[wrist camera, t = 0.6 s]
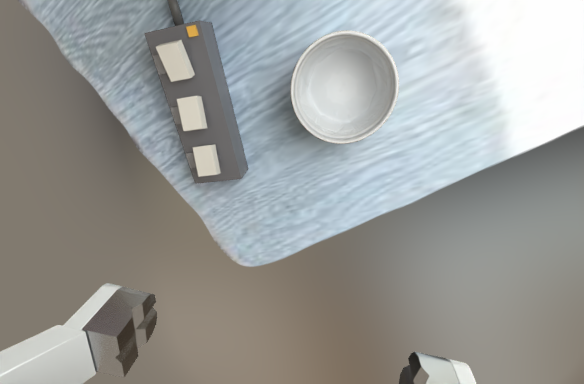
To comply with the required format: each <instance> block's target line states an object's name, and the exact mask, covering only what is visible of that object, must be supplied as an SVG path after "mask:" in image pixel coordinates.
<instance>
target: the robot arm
mask: <svg viewBox="0 0 584 384" xmlns="http://www.w3.org/2000/svg"><path fill="white" fill-rule="evenodd" d="M155 303H156V300H155V295H154V294H150V293H146V292H142V291H138V290H134V289H130V288H126V287H122V286H118V285H114V284H109V283H107V284H105V285H103V286H101V287H100V288H99V289H98V291H96V292H95V293H94V294H93V296H91V297H90V298H89V299H88V301H87V302H86V303H85V304H84V305H83V306H82V307H81V308H80V309H79V310H78V311H77V312H76V313H75V314H74V315H73V316H72V317H71V318H70V319H69V320H68V321H67V322H66V323H65V324H64V325H63V326H61V325H57V326H54V327H52V328H50V329H48V330H46V331H44V332H42V333H39V334H38V335H35V336H33V337H31V338H29V339H27V340H24V341H22V342H20V343H18V344H16V345H14V346H12V347H9V348H8V349H5V350H3V351H1V352H0V384H83V383H84V382H85V381H87V380H88V379H89V378H91V377H92V376H94V375H95V374H96V372H100V373H104V374H109V375H114V376H119V377H125V376H126V374H127V373H128V371H129V370H130V368H131V366H132V365H133V363H134V362H135V360H136V359H137V357H138V348H139V347H141V346H142V345H144V344H145V343H147V342H148V340H149V338H150V337H151V335H152V333H153V331H154V328H155V325H156V321H157V312H156V311H155V309H154V308H153V306H154V304H155ZM408 359H409V364H410V365H408V366H406V367H404V368H403V370H402V372H401V374H400V379H399V384H476V381H475V379H474V377H473V374H472V372H471V369H470V367H469V366H468V365H467V364H466V363H464V362H459V361H455V360H450V359H446V358H443V357H438V356H433V355H428V354H423V353H418V352H413V353H411V355H410V356H409V358H408Z"/></svg>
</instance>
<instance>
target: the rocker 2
mask: <svg viewBox="0 0 584 384" xmlns="http://www.w3.org/2000/svg"><path fill="white" fill-rule="evenodd" d="M177 103H178V107H179V112H180V117H181V122H182V127H183V131H192V130H199V129H205V128H207V123H206V118H205V113H204V108H203V102H202V97H201V96H191V97H186V98H180V99H177Z"/></svg>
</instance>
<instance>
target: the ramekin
mask: <svg viewBox="0 0 584 384" xmlns="http://www.w3.org/2000/svg"><path fill="white" fill-rule="evenodd" d="M398 92H399V76H398V71H397V67H396V64H395V62H394V60H393V58H392V56H391V55H390V53H389V52H388V50H387V49H386V48H385V47H384V46H383V45H382V44H381V43H380V42H379V41H377V40H376V39H375V38H373V37H371V36H369V35H367V34H364V33H361V32H357V31H350V30H345V31H337V32H333V33H330V34H327V35H325V36H323V37H321V38H319V39H318V40H316V41H315V42H314V43H312V44H311V45H310V46H309V47H308V48H307V49H306V50H305V51H304V53H303V54H302V55H301V57H300V58H299V60H298V62H297V64H296V66H295V69H294V72H293V75H292V79H291V101H292V105H293V109H294V111H295V114H296V116H297V118H298V119H299V121H300V122H301V124H302V125H303V126H304V127H305V129H306V130H307V131H309V132H310V133H311V134H312V135H314V136H315V137H317V138H319V139H321V140H323V141H326V142H330V143H336V144H347V143H352V142H356V141H359V140H362V139H364V138H366V137H368V136H370V135H371V134H373V133H374V132H375V131H377V130H378V129H379V128H380V127H381V126H382V125H383V124H384V123H385V122H386V120H387V119H388V118H389V116H390V115H391V113H392V111H393V109H394V107H395V104H396V101H397V97H398Z"/></svg>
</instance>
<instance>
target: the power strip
mask: <svg viewBox="0 0 584 384" xmlns="http://www.w3.org/2000/svg"><path fill="white" fill-rule="evenodd" d="M168 3H169V6H170V10H171V13H172V17H173V20H174V23H175V26H174V27H170V28H165V29H161V30H157V31H152V32H148V33H145V36H146V39H147V42H148V45H149V48H150V51H151V54H152V57H153V60H154V63H155V66H156V69H157V72H158V75H159V77H160V80H161V83H162V86H163V89H164V92H165V95H166V98H167V101H168V104H169V107H170V110H171V113H172V116H173V119H174V122H175V125H176V128H177V131H178V133H179V136H180V139H181V142H182V145H183V148H184V151H185V154H186V157H187V160H188V163H189V166H190V169H191V172H192V175H193V178H194V181H195V183H204V182H214V181H223V180H233V179H241V178H242V177H243V176H244V174H245V173H246V172H247V170H248V166H247V162H246V158H245V154H244V150H243V146H242V142H241V138H240V134H239V130H238V126H237V122H236V118H235V114H234V110H233V106H232V102H231V98H230V94H229V90H228V86H227V82H226V78H225V74H224V70H223V66H222V62H221V58H220V54H219V50H218V46H217V42H216V38H215V34H214V30H213V26H212V23H210V22H204V21H195V22H191V23H187V24H184V22H183V19H182V15H181V12H180V8H179V5H178V1H177V0H168ZM178 40H182V43H183V45H184V48H185V50H186V53H187V56H188V58H189V61H190V63H191V66H192V68H193V71H194V73H195V75H194V76H193V77H192V78H189V79H184V80H178V81H173V82H171V80H170V78H169V76H168V74H167V71H166V69H165V67H164V65H163V63H162V60H161V58H160V56H159V54H158V51H157V49H156V46H158V45H160V44H164V43H169V42H173V41H178ZM191 96H201V97H202V102H203V108H204V113H205V118H206V123H207V128H205V129H199V130H192V131H183V127H182V122H181V117H180V112H179V107H178V103H177V99H180V98H186V97H191ZM214 144H215V145H216V151H217V156H218V161H219V167H220V172H221V173H220V174H217V175H209V176H200V177H198V172H197V167H196V162H195V157H194V152H193V147H199V146H207V145H214Z"/></svg>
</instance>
